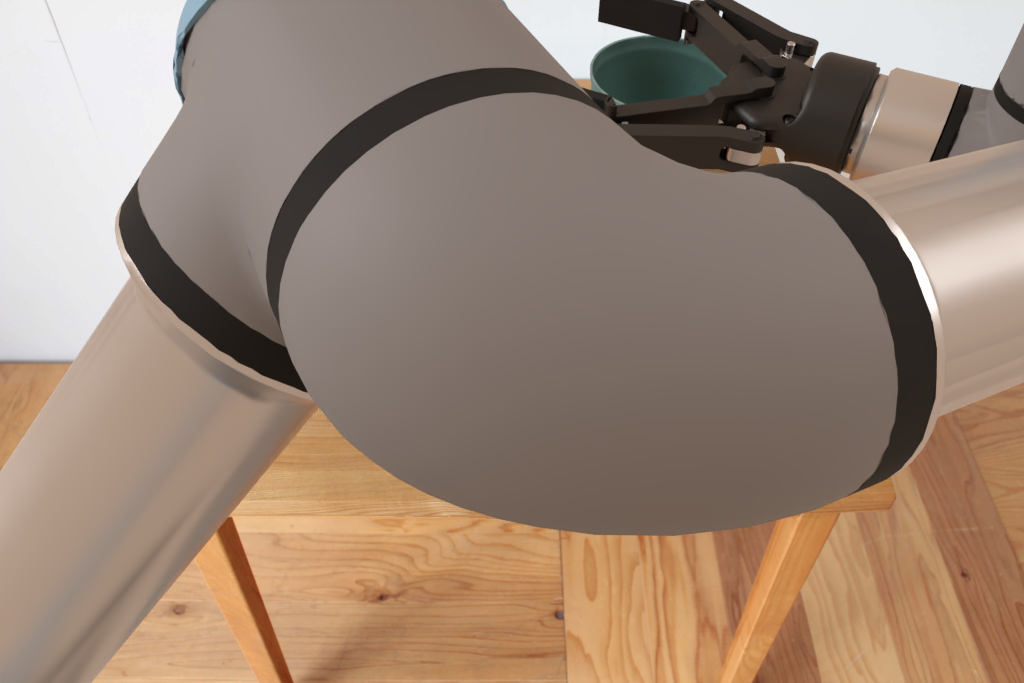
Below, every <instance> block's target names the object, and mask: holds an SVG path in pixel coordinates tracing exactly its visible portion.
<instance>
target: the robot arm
mask: <svg viewBox="0 0 1024 683" xmlns="http://www.w3.org/2000/svg"><path fill="white" fill-rule="evenodd" d="M721 12H722V15H720V14H721ZM597 23H601V24H606V25H610V26H612V27H613V26H614V27H618V28H620V29H621V28H622V29H625V30H628V31H632V32H637V33H641V34H643V35H652V36H656V37H660V38H663V39H667V40H671V41H675V42H678V41H679V40H680V38H682V34H683V31H684V34H683V39H684V41H683V44H684V45H685V44H686V41H687V44H692V43H693V44H694V45H695V46H696V47H697V48H699V49H700V50H701V51H702V52H703V53H704V54H705V55H706V56H707V57H708V58H709V59H710V60H711V61H712V62H713V63H714V64H715V65H716V66H717V67H718V68H719V69H720V70H721V71H722V72H723V73H724V74H726V75H727V77H726V78H724V79H723V80H722V81H721V83H720V84H719V86H713V87H710V88H708V89H707V90H706V91H705V93H703V94H701V95H694V96H686V97H679V98H671V99H663V100H655V101H647V102H639V103H631V104H623V105H616V103H615V101H614V99H613V98H612V96H610V95H607V94H603V93H600V92H596V91H593V90H591V89H589V88H585V87H582V86H581V85H580V83H579V84H578V82H577V81H576V80H575V79H574V78H573V77H572V75H570V74H569V73H568V71H567V70H566V69H565V68H564V67H563V66H562V65H561V63H559V61H558V60H557V59H556V58H555V57H554V56H553V55H552V54H551V53H550V52H549V50H547V49H546V47H545V46H544V45H543V44H542V43H541V42H540V40H538V39H537V37H535V36H534V35H533V33H532V32H531V31H530V30H529V29H528V28H527V27H526V26H525V25H524V23H522V21H521V20H519V18H518V17H517V16H516V15H515V14H514V13H513V12H512V11H511V9H509V7H508V5H507V3H506V2H505V0H186V1H185V3H184V5H183V8H182V11H181V14H180V17H179V20H178V24H177V29H176V36H175V50H174V54H173V58H172V59H173V61H172V74H173V82H174V85H175V90H176V92H177V94H178V95H179V99H180V101H181V105H182V106H181V108H180V109H179V111H178V113H177V115H176V116H175V119H174V120H173V122H172V123H171V125H170V126H169V128H168V129H167V131H166V133H165V134H164V136H163V137H162V139H161V141H160V142H159V144H158V145H157V147H156V148H155V150H154V151H153V153H152V155H151V156H150V158H149V159H148V160H147V162H146V164H145V165H144V167H143V168H142V170H141V173H139V176H138V177H137V179H136V180H135V182H134V184H133V186H131V188H130V189H129V191H128V193H127V195H126V197H124V200H123V201H122V203H121V204H120V206H119V207H118V210H117V213H116V216H115V220H114V234H115V240H116V245H117V247H118V251H119V253H120V255H121V259H122V261H123V263H124V266H125V268H126V269H127V272H128V274H129V277H128V279H127V280H126V282H125V284H124V285H123V286H122V288H121V289H120V291H119V292H118V294H117V295H116V296H115V298H114V299H113V301H112V302H111V304H110V306H109V307H108V309H107V310H106V312H105V313H104V314H103V316H102V318H101V320H100V321H99V322H98V323H97V325H96V327H95V328H94V330H93V331H92V333H91V334H90V336H89V337H88V339H87V341H86V342H85V344H84V345H83V346H82V348H81V349H80V351H79V352H78V354H77V356H76V357H75V358H74V360H73V362H72V363H71V365H70V366H69V368H68V369H67V370H66V372H65V374H64V375H63V376H62V378H61V379H60V381H59V383H58V384H57V385H56V387H55V388H54V390H53V391H52V393H51V394H50V396H49V397H48V399H47V401H46V402H45V403H44V405H43V406H42V408H41V409H40V411H39V412H38V414H37V415H36V417H35V419H34V420H33V421H32V422H31V424H30V426H29V427H28V429H27V431H26V432H25V434H24V435H23V437H22V438H21V440H20V441H19V443H18V444H17V445H16V447H15V449H14V450H13V452H12V454H11V455H10V456H9V458H8V459H7V461H6V462H5V464H4V465H3V467H2V468H1V469H0V683H93V682H94V681H95V679H96V678H98V676H99V675H100V673H101V672H102V671H103V670H104V669H105V667H106V666H107V664H108V663H109V662H110V661H111V660H112V659H113V658H114V656H116V654H117V653H118V652H119V650H120V649H121V648H122V647H123V645H124V644H125V643H126V642H127V640H128V639H129V638H130V637H131V636H132V635H133V633H134V632H135V631H136V630H137V629H138V627H139V626H140V625H141V624H142V622H143V621H144V620H145V619H146V617H147V616H148V615H149V614H150V613H151V612H152V610H153V609H154V608H155V607H156V606H157V605H158V603H159V602H160V601H161V599H162V598H163V597H164V596H165V595H166V593H167V592H168V591H169V590H170V588H171V587H172V586H173V585H174V584H175V582H176V581H177V580H178V579H179V578H180V577H181V575H182V574H183V573H184V571H185V570H186V569H187V568H188V567H189V565H190V564H191V563H192V562H193V560H195V558H196V557H197V556H198V555H199V553H201V551H202V550H203V549H204V548H205V546H206V545H207V544H208V543H209V541H210V540H211V539H212V537H214V535H215V534H216V533H217V531H218V530H220V528H221V526H223V524H224V523H225V522H226V520H228V518H229V517H230V516H231V514H232V513H233V512H234V511H235V510H236V509H237V507H238V506H239V505H240V504H241V502H242V501H243V500H244V499H245V498H246V496H247V495H248V494H249V493H250V492H251V491H252V489H253V488H254V487H255V486H256V484H257V483H258V482H259V481H260V479H262V477H263V476H264V475H265V473H266V472H267V471H268V470H269V469H270V467H271V466H272V465H273V464H274V462H276V461H277V459H278V457H279V456H281V454H282V453H283V452H284V451H285V450H286V448H287V447H288V445H289V444H290V443H291V442H292V441H293V440H294V438H295V437H296V436H297V435H298V434H299V432H300V431H301V430H302V429H303V427H304V426H305V425H306V424H307V423H308V422H309V420H310V419H311V417H313V415H314V414H315V413H316V412H317V410H318V409H320V411H321V412H322V413H323V415H324V416H325V417H326V418H327V419H328V421H329V422H330V423H331V424H332V425H333V427H334V428H335V429H336V431H337V432H338V433H339V435H341V437H343V438H344V439H345V440H346V441H347V442H348V443H350V444H351V445H352V446H353V447H354V448H355V449H357V451H358V452H360V453H361V454H362V455H364V456H365V457H366V458H367V459H369V460H370V461H371V462H373V463H374V464H375V465H378V466H379V467H380V468H381V469H383V470H384V471H385V472H387V473H389V474H390V475H392V476H393V477H394V478H396V479H397V480H399V481H401V482H403V483H405V484H407V485H409V486H411V487H413V488H415V489H416V490H418V491H420V492H422V493H424V494H426V495H428V496H431V497H433V498H435V499H438V500H441V501H443V502H445V503H448V504H451V505H453V506H455V507H458V508H460V509H464V510H467V511H470V512H474V513H477V514H480V515H484V516H487V517H490V518H494V519H497V520H502V521H506V522H511V523H515V524H520V525H525V526H530V527H534V528H540V529H548V530H553V531H554V530H555V531H562V532H569V533H570V532H571V533H577V534H586V535H593V536H639V537H640V536H647V537H653V536H654V537H677V536H678V537H679V536H686V535H694V534H702V533H711V532H712V533H713V532H720V531H729V530H737V529H738V530H739V529H747V528H751V527H755V526H759V525H764V524H767V523H771V522H774V521H780V520H783V519H788V518H791V517H795V516H798V515H802V514H805V513H809V512H813V511H816V510H818V509H821V508H823V507H826V506H828V505H831V504H833V503H835V502H837V501H840V500H842V499H845V498H847V497H850V496H851V495H854V494H857V493H859V492H861V491H863V490H866V489H868V488H871V487H873V486H875V485H877V484H878V485H879V484H880V483H882V482H884V481H887V480H888V479H890V478H892V477H895V476H896V475H898V474H900V473H901V472H902V471H903V470H905V468H907V467H908V466H909V465H910V464H911V463H912V462H913V461H914V460H915V459H916V458H917V457H918V456H919V455H920V453H921V452H922V451H923V450H924V448H925V446H926V444H927V443H928V441H929V438H931V435H932V433H933V432H934V430H935V427H936V425H937V421H938V418H939V417H942V416H944V415H947V414H950V413H952V412H954V411H956V410H960V409H962V408H963V407H967V406H969V405H971V404H974V403H976V402H979V401H982V400H984V399H987V398H989V397H992V396H994V395H996V394H999V393H1001V392H1004V391H1006V390H1008V389H1011V388H1013V387H1016V386H1019V385H1021V384H1023V383H1024V23H1023V24H1022V26H1021V28H1020V30H1019V33H1018V35H1017V37H1016V39H1015V41H1014V43H1013V45H1012V48H1011V50H1010V51H1009V54H1008V56H1007V58H1006V60H1005V62H1004V64H1003V67H1002V69H1001V71H1000V72H999V74H998V77H997V79H996V81H995V83H994V85H993V87H992V89H988V88H983V87H982V88H981V87H976V86H971V85H968V84H963V83H960V82H958V81H954V80H950V79H945V78H941V77H938V76H933V75H929V74H924V73H920V72H917V71H913V70H908V69H904V68H900V67H895V68H893V69H891V70H890V72H889V74H888V75H887V74H883V73H880V72H881V67H880V66H877V65H878V64H877V63H878V62H875V61H871V60H866V59H863V58H858V57H855V56H850V55H846V54H842V53H839V52H834V51H828V52H825V53H823V54H822V55H821V56H820V57H819V58H818V60H817V62H816V64H815V65H814V61H815V58H816V55H817V52H818V47H819V45H820V43H819V40H817V39H816V38H813V37H810V36H806V35H804V34H801V33H798V32H797V33H796V32H794V31H790V30H789V29H787V28H786V27H783V26H781V25H779V24H777V23H776V22H774V21H772V20H771V19H768V17H765V16H764V15H762V14H760V13H757V12H756V11H754V10H753V9H750V8H749V7H747V6H745V5H743V4H742V3H740V2H737V1H736V0H690V2H689V3H687V2H684V1H680V0H599V2H598V15H597ZM813 65H814V67H813ZM719 119H720V120H721V122H720V123H719ZM622 122H628V124H622ZM718 123H719V124H718ZM764 148H775V149H780V150H781V151H782V152H783V155H784V156H783V159H784V161H783V162H774V163H768V164H763V165H759V164H760V162H761V157H762V154H763V149H764ZM707 170H720V171H724V172H716V171H715V172H713V171H707ZM842 173H845V174H849V176H848V177H847V176H845V175H842Z"/></svg>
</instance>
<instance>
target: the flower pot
mask: <svg viewBox="0 0 1024 683" xmlns="http://www.w3.org/2000/svg"><path fill="white" fill-rule="evenodd" d="M683 41H684V37H683V38H682V37H681V38H680V40H679V41H678V42H675V41H671V40H667V39H663V38H660V37H656V36H652V35H648V34H641V35H636V36H629V37H625V38H621V39H618V40H615V41H612V42H610V43H608V44H606V45H605V46H603V47H602V48H600V49H599V50H598V51H597V52H596V53H595V54H594V56H593V58H592V59H591V61H590V65H589V78H590V83H591V84H590V90H593V91H596V92H600V93H603V94H607V95H610V96H612V98H613V99H614V101H615V103H616V105H623V104H631V103H639V102H647V101H655V100H663V99H671V98H679V97H686V96H694V95H701V94H703V93H705V91H706V90H707V89H708V88H710V87H713V86H719V84H720V83H721V81H722V80H723V79H724V78H726V77H727V75H726V74H724V73H723V72H722V71H721V70H720V69H719V68H718V67H717V66H716V65H715V64H714V63H713V62H712V61H711V60H710V59H709V58H708V57H707V56H706V55H705V54H704V53H703V52H702V51H701V50H700V49H699V48H697V47H696V46H695V45H694V44H693V43H692V44H687V41H686V44H685V45H684V44H683ZM719 123H722V121H721V120H720V119H719ZM719 123H718V124H719ZM622 124H628V122H622Z"/></svg>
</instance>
